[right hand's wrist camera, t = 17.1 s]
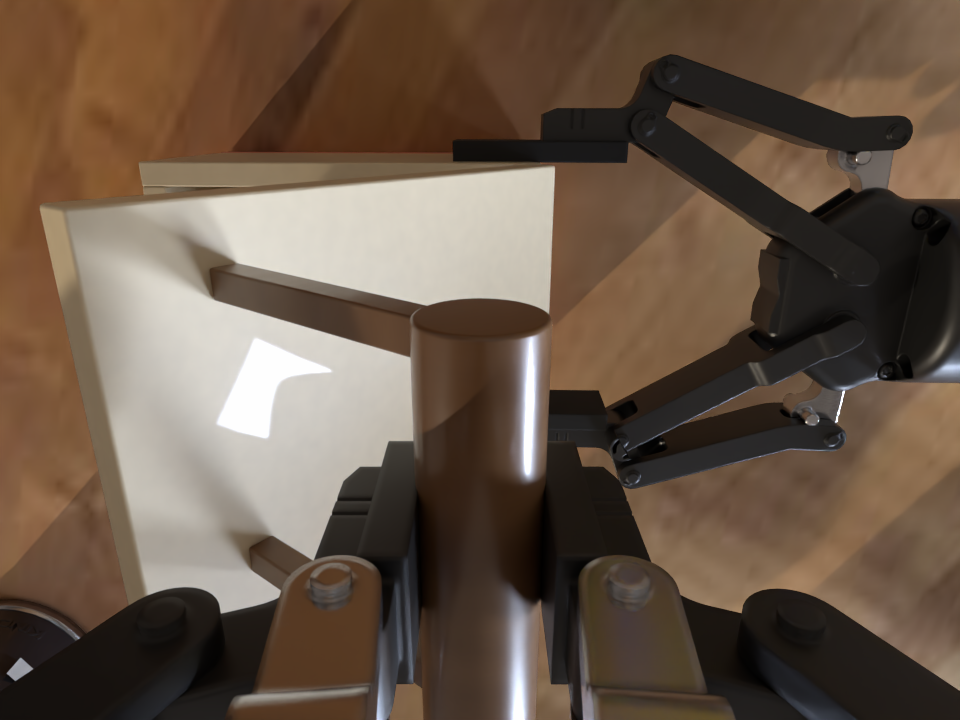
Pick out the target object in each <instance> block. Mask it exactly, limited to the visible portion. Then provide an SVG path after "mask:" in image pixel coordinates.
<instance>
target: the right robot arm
mask: <svg viewBox="0 0 960 720" xmlns="http://www.w3.org/2000/svg"><path fill="white" fill-rule="evenodd" d="M540 600H541V608H542V616H543V624H544V632H545V640H546V648H547V656H548V664H549V672H550V680H551V684H568V686H569V693H570V699H571V706H570V720H960V691H959V690H957V689H956V688H954V687H953V686H951V685H950V684H948V683H947V682H945V681H944V680H942V679H941V678H939V677H938V676H936V675H935V674H933V673H932V672H930V671H929V670H927V669H926V668H924V667H923V666H921V665H920V664H918V663H917V662H915V661H914V660H912V659H911V658H909V657H908V656H906V655H905V654H903V653H902V652H900V651H899V650H897V649H896V648H894V647H893V646H891V645H890V644H888V643H887V642H885V641H884V640H882V639H881V638H879V637H878V636H876V635H875V634H873V633H872V632H870V631H869V630H867V629H866V628H864V627H863V626H861V625H860V624H858V623H857V622H855V621H854V620H852V619H851V618H849V617H848V616H846V615H845V614H843V613H842V612H840V611H839V610H837V609H836V608H834V607H833V606H831V605H829V604H828V603H826V602H824V601H822V600H820V599H818V598H816V597H813V596H811V595H808V594H805V593H802V592H798V591H793V590H787V589H767V590H762V591H759V592H756V593H754V594H752V595H751V596H749V597H748V599H747V600H746V601H745V603H744V605H743V609H742V613H738V612H733V611H729V610H724V609H720V608H716V607H711V606H707V605H704V604H700V603H697V602H695V601H692V600H689V599H687V598H685V597H683V596H681V595H680V593H679V589H678V587H677V584H676V582H675V581H674V579H673V578H672V577H671V576H670V575H669V574H668V573H667V572H666V571H665V570H663V569H662V568H661V567H659V566H657V565H656V564H654V563H651V560H650V558H649V555H648V552H647V550H646V547H645V545H644V542H643V540H642V537H641V534H640V532H639V529H638V527H637V524H636V521H635V519H634V516H632V511H631V508H630V506H629V503H628V501H626V496H625V493H624V490H623V488H622V485H621V483H620V481H619V480H618V479H617V478H616V477H614V476H613V475H612V474H611V473H610V472H609V471H608V470H606V469H605V468H604V467H582V464H581V461H580V457H579V454H578V450H577V447H576V444H575V442H574V441H547V462H546V484H545V498H544V522H543V547H542V572H541V596H540ZM421 612H422V592H421V565H420V538H419V510H418V491H417V489H416V486H415V473H414V445H413V441H389V442H388V445H387V448H386V452H385V455H384V459H383V462H382V466H381V467H359V468H358V469H357V470H356V471H354V472H353V473H352V474H351V475H350V476H349V477H348V478H346V479H345V480H344V481H343V484H342V486H341V489H340V492H339V494H338V497H337V501H336V502H335V505H334V508H333V510H332V515H331V516H330V518H329V521H328V523H327V526H326V529H325V531H324V534H323V537H322V539H321V542H320V545H319V547H318V550H317V553H316V555H315V558H314V560H313V561H311V562H308V563H306V564H304V565H303V566H301V567H299V568H298V569H297V570H295V571H294V572H293V573H292V574H291V575H290V576H289V577H288V578H287V579H286V581H285V582H284V584H283V587H282V589H281V592H280V596H279V598H277V599H275V600H272V601H269V602H267V603H264V604H260V605H256V606H252V607H248V608H243V609H239V610H235V611H230V612H226V613H222V614H221V612H220V606H219V602H218V600H217V599H216V598H215V597H214V596H213V594H211V593H209V592H208V591H205V590H202V589H199V588H193V587H179V588H171V589H166V590H162V591H159V592H155V593H153V594H150V595H147V596H145V597H143V598H141V599H139V600H137V601H135V602H134V603H132V604H130V605H129V606H127V607H126V608H124V609H123V610H121V611H120V612H118V613H117V614H115V615H114V616H112V617H111V618H109V619H108V620H106V621H105V622H103V623H102V624H100V625H99V626H97V627H96V628H94V629H93V630H91V631H90V632H88V633H87V634H85V632H84V631H83V630H82V629H81V628H80V627H79V626H77V625H76V624H75V623H74V622H73V621H71V620H70V619H69V618H67V617H66V616H64V615H62V614H61V613H59V612H57V611H55V610H53V609H51V608H48V607H46V606H43V605H40V604H37V603H33V602H28V601H22V600H0V720H390V713H391V711H392V707H393V702H394V695H395V689H396V684H413V680H414V672H415V663H416V654H417V646H418V637H419V629H420V620H421Z"/></svg>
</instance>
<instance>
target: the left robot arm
mask: <svg viewBox="0 0 960 720" xmlns="http://www.w3.org/2000/svg"><path fill="white" fill-rule="evenodd" d="M672 101H673V102H676V103H679V104H682V105H685V106H687V107H690V108H693V109H696V110H699V111H702V112H705V113H707V114H710V115H713V116H716V117H719V118H722V119H724V120H727V121H730V122H733V123H736V124H739V125H742V126H744V127H747V128H750V129H753V130H756V131H759V132H762V133H764V134H767V135H770V136H773V137H776V138H779V139H782V140H784V141H787V142H790V143H793V144H796V145H799V146H803V147H806V148H813V149H822V150H828V152H827V154H826V157H827V162H828V165H829V166H830V167H831V168H832V169H834V170H837V171H840V172H843V173H845V174H846V175H847V176H848V178H849V180H850V188H848V189H846V190H844V191H842V192H841V193H839V194H838V195H836V196H835V197H833V198H831V199H830V200H828V201H827V202H825V203H824V204H822V205H821V206H819V207H817V208H816V209H814V210H813V211H811V212H810V213H808V212H807V211H805V210H804V209H802V208H801V207H799V206H797V205H795V204H793V203H791V202H789V201H788V200H786V199H784V198H783V197H782V196H780V195H779V194H777V193H776V192H774V191H773V190H771V189H770V188H768V187H767V186H765V185H764V184H763V183H761V182H760V181H758V180H757V179H755V178H754V177H752V176H751V175H749V174H748V173H747V172H745V171H744V170H742V169H741V168H739V167H738V166H736V165H735V164H733V163H732V162H731V161H729V160H728V159H726V158H725V157H723V156H722V155H720V154H719V153H717V152H716V151H715V150H713V149H712V148H710V147H709V146H707V145H706V144H704V143H703V142H701V141H700V140H699V139H697V138H696V137H694V136H693V135H691V134H690V133H688V132H687V131H685V130H684V129H682V128H681V127H680V126H678V125H677V124H675V123H674V122H672V121H671V120H669V119H668V118H666V115H667V112H668V110H669V108H670V106H671V103H672ZM912 133H913V126H912V124H911V122H910V120H909V119H907V118H906V117H904V116H864V117H849V116H846V115H843V114H840V113H837V112H835V111H832V110H829V109H826V108H823V107H821V106H818V105H815V104H812V103H809V102H807V101H804V100H801V99H798V98H795V97H793V96H790V95H787V94H784V93H781V92H779V91H776V90H773V89H770V88H767V87H765V86H762V85H759V84H756V83H753V82H751V81H748V80H745V79H742V78H739V77H737V76H734V75H731V74H728V73H725V72H723V71H720V70H717V69H714V68H711V67H709V66H706V65H703V64H700V63H697V62H695V61H692V60H689V59H686V58H683V57H681V56H678V55H671V54H670V55H667V56H664V57H661V58H659V59H656V60H654V61H652V62H649V63H648V64H647V65H646V66H644V68H643V70H642V71H641V74H640V81H639V83H638V86H637V88H636V91H635V93H634V95H633V97H632V99H631V100H630V101H629V103H628V104H626V105H625V106H624V107H621V108H556V109H553V110H551V111H549V112H546V113H544V114H541V137H540V140H483V139H457V140H454V141H453V162H568V163H627V154H628V142H631V143H632V144H633V145H635V146H636V147H638V148H639V149H641V150H642V151H644V152H645V153H647V154H648V155H650V156H651V157H653V158H654V159H656V160H657V161H659V162H660V163H662V164H663V165H665V166H666V167H668V168H669V169H671V170H672V171H674V172H675V173H677V174H678V175H680V176H681V177H683V178H684V179H686V180H687V181H689V182H690V183H691V184H693V185H694V186H696V187H697V188H699V189H700V190H702V191H703V192H705V193H706V194H708V195H709V196H711V197H712V198H714V199H715V200H717V201H718V202H720V203H721V204H723V205H724V206H726V207H727V208H729V209H730V210H732V211H733V212H735V213H736V214H738V215H739V216H741V217H742V218H744V219H745V220H746V221H747V222H748V223H749V224H751V225H752V226H754V227H755V228H757V229H758V230H760V231H761V232H763V233H764V234H766V235H767V236H769V237H770V238H772V240H771V241H770V243H769V244H768V246H767V248H766V250H765V249H761V252H760V258H759V265H758V269H759V277H760V288H759V290H758V292H757V295H756V297H755V299H754V302H753V306H752V312H751V319H750V320H752V321H753V322H754V323H755V325H754V326H752V327H750V328H748V329H746V330H744V331H742V332H740V333H738V334H736V335H735V336H733V337H732V338H731V339H730V341H729V343H728V344H727V345H725V346H724V347H722V348H720V349H718V350H716V351H714V352H712V353H710V354H708V355H706V356H704V357H702V358H700V359H698V360H697V361H695V362H693V363H691V364H689V365H687V366H685V367H683V368H681V369H679V370H677V371H675V372H673V373H672V374H670V375H668V376H666V377H664V378H662V379H660V380H658V381H656V382H654V383H652V384H650V385H648V386H646V387H645V388H643V389H641V390H639V391H637V392H635V393H633V394H631V395H629V396H627V397H625V398H623V399H621V400H619V401H618V402H616V403H614V404H612V405H610V406H608V407H606V408H605V406H604V403H603V401H602V398H601V396H600V393H599V391H588V390H550V391H549V415H548V439H547V441H574V442H575V444H576V447H596V448H601V449H604V450H606V451H607V452H608V453H609V454H610V456H611V458H612V461H613V464H614V467H615V470H616V473H617V476H618V479H619V481H620V483H621V485H623V486H624V487H625V488H629V489H634V488H639V487H643V486H647V485H651V484H655V483H659V482H663V481H667V480H671V479H675V478H679V477H683V476H687V475H691V474H695V473H699V472H703V471H707V470H711V469H715V468H719V467H723V466H726V465H730V464H734V463H738V462H742V461H746V460H750V459H754V458H758V457H762V456H766V455H770V454H774V453H778V452H782V451H786V450H790V449H792V450H811V451H835V450H837V449H840V448H841V447H842V446H843V445H844V443H845V441H846V433H845V431H844V430H843V429H842V428H841V427H840V426H838V425H837V419H838V415H839V411H840V407H841V403H842V400H843V396H844V392H845V391H846V390H849V389H852V388H854V387H857V386H859V385H861V384H864V383H867V382H871V381H892V382H920V383H960V199H904V198H901V197H899V196H898V195H896V194H895V193H893V192H892V191H890V190H888V189H887V188H888V182H889V176H890V170H891V164H892V158H893V152H894V150H897V149H900V148H902V147H903V146H905V145H906V144H907V143H908V141H909V140H910V139H911V136H912ZM771 349H772V350H771ZM801 371H802V372H804V373H805V374H806V375H808V376H809V377H810V378H811V379H813V382H812V384H811V386H810V387H809V388H808V389H807V390H806V391H803V392H801V393H796V394H792V393H789V394H787V395H786V396H784V399H783V402H784V403H766V404H760V405H756V406H752V407H748V408H744V409H740V410H736V411H732V412H729V413H725V414H721V415H717V416H713V417H709V418H706V419H702V420H698V421H694V422H690V423H687V424H683V423H685V422H687V421H689V420H691V419H693V418H695V417H697V416H699V415H701V414H703V413H705V412H707V411H709V410H711V409H713V408H715V407H717V406H719V405H721V404H723V403H725V402H727V401H729V400H731V399H733V398H735V397H737V396H739V395H741V394H743V393H745V392H747V391H749V390H751V389H753V388H755V387H757V386H770V385H774V384H776V383H779V382H781V381H783V380H785V379H787V378H789V377H791V376H793V375H795V374H797V373H799V372H801ZM681 424H683V425H681Z"/></svg>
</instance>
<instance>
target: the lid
mask: <svg viewBox="0 0 960 720" xmlns="http://www.w3.org/2000/svg"><path fill="white" fill-rule="evenodd" d="M554 179H555V166H553V165H541V164H524V165H512V166H499V167H487V168H474V169H462V170H450V171H437V172H425V173H412V174H400V175H387V176H375V177H362V178H350V179H337V180H325V181H312V182H300V183H287V184H275V185H262V186H250V187H237V188H225V189H212V190H200V191H187V192H175V193H162V194H150V195H137V196H125V197H112V198H100V199H87V200H75V201H62V202H50V203H43V204H41V205H40V212H41V217H42V221H43V226H44V230H45V235H46V239H47V244H48V248H49V253H50V257H51V261H52V266H53V270H54V275H55V279H56V284H57V288H58V293H59V297H60V302H61V306H62V310H63V315H64V319H65V324H66V328H67V333H68V337H69V342H70V346H71V351H72V355H73V360H74V364H75V368H76V373H77V377H78V382H79V386H80V391H81V395H82V400H83V404H84V409H85V413H86V417H87V422H88V426H89V431H90V435H91V440H92V444H93V449H94V453H95V458H96V462H97V466H98V471H99V475H100V480H101V484H102V489H103V493H104V498H105V502H106V507H107V511H108V516H109V520H110V524H111V529H112V533H113V538H114V542H115V547H116V551H117V556H118V560H119V565H120V569H121V573H122V578H123V582H124V587H125V591H126V596H127V600H128V605H130V604H132V603H134V602H135V601H137V600H139V599H141V598H143V597H145V596H147V595H150V594H153V593H155V592H159V591H162V590H166V589H171V588H179V587H193V588H199V589H202V590H205V591H208V592H209V593H211V594H213V596H214V597H215V598H216V599H217V600H218V602H219V606H220V612H221V614H222V613H226V612H230V611H235V610H239V609H243V608H248V607H252V606H256V605H260V604H264V603H267V602H269V601H272V600H275V599H277V598H279V596H280V592H281V589H282V587H283V584H284V582H285V581H286V579H287V578H288V577H289V576H290V575H291V574H292V573H293V572H294V571H295V570H297V569H298V568H299V567H301V566H303V565H304V564H306V563H308V562H311V561H313V560H314V558H315V555H316V553H317V550H318V547H319V545H320V542H321V539H322V537H323V534H324V531H325V529H326V526H327V523H328V521H329V518H330V516H331V515H332V510H333V508H334V505H335V502H336V501H337V497H338V494H339V492H340V489H341V486H342V484H343V481H344V480H345V479H346V478H348V477H349V476H350V475H351V474H352V473H353V472H354V471H356V470H357V469H358V468H359V467H381V466H382V462H383V459H384V455H385V452H386V448H387V445H388V442H389V441H413V445H414V473H415V486H416V489H417V491H418V510H419V538H420V565H421V592H422V612H421V620H420V629H419V637H418V646H417V654H416V663H415V672H414V680H413V682H414V683H415V684H417V685H418V686H420V687H421V688H422V694H423V718H424V720H536V699H537V675H538V652H539V628H540V604H541V600H540V596H541V572H542V547H543V522H544V498H545V484H546V462H547V439H548V415H549V391H550V368H551V344H552V319H551V317H550V315H549V303H550V278H551V254H552V229H553V204H554Z"/></svg>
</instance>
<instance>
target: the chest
mask: <svg viewBox="0 0 960 720" xmlns="http://www.w3.org/2000/svg"><path fill="white" fill-rule="evenodd" d="M524 164H541V163H540V162H453V152H221V153H215V154H206V155H197V156H188V157H179V158H169V159H160V160H151V161H142V162H139V168H140V174H141V180H142V185H143V186H145V187H143V191H144V195H150V194H162V193H175V192H187V191H200V190H212V189H225V188H237V187H250V186H262V185H275V184H287V183H300V182H312V181H325V180H337V179H350V178H362V177H375V176H387V175H400V174H412V173H425V172H437V171H450V170H462V169H474V168H487V167H499V166H512V165H524Z"/></svg>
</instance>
